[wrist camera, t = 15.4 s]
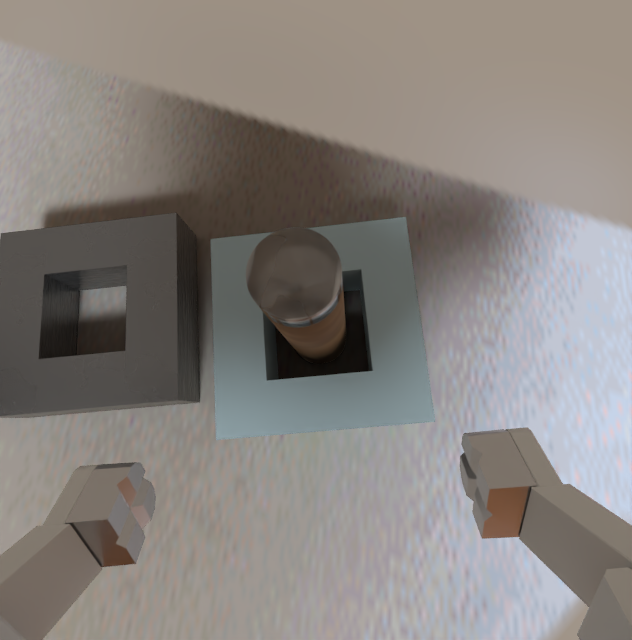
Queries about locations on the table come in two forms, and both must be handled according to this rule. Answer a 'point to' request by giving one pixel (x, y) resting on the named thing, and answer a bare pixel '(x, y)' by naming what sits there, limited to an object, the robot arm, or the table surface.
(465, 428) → the table surface
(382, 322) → the block
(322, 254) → the peg
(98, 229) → the socket block
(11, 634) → the robot arm
